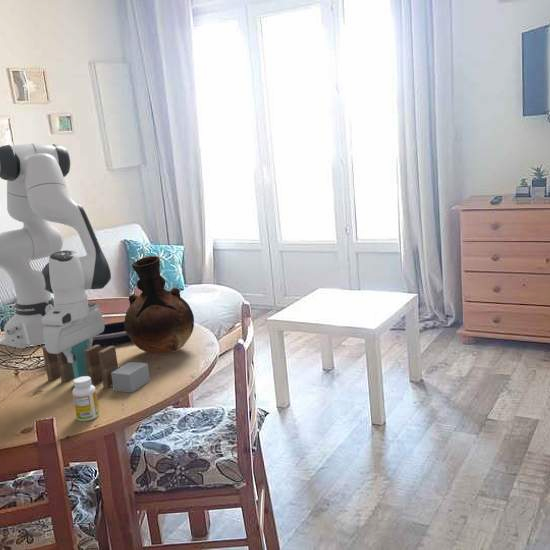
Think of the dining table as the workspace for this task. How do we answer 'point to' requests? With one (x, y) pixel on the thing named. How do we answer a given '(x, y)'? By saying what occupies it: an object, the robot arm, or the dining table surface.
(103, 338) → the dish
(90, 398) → the supplement bottle
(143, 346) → the ceramic vessel
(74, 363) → the domino
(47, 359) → the domino
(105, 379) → the domino
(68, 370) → the domino
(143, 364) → the end block
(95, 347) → the domino
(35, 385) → the dining table surface
